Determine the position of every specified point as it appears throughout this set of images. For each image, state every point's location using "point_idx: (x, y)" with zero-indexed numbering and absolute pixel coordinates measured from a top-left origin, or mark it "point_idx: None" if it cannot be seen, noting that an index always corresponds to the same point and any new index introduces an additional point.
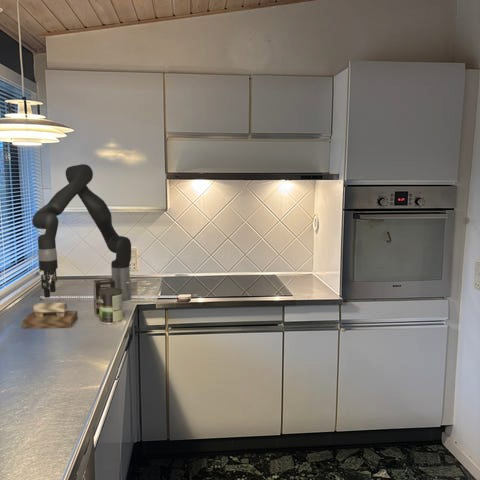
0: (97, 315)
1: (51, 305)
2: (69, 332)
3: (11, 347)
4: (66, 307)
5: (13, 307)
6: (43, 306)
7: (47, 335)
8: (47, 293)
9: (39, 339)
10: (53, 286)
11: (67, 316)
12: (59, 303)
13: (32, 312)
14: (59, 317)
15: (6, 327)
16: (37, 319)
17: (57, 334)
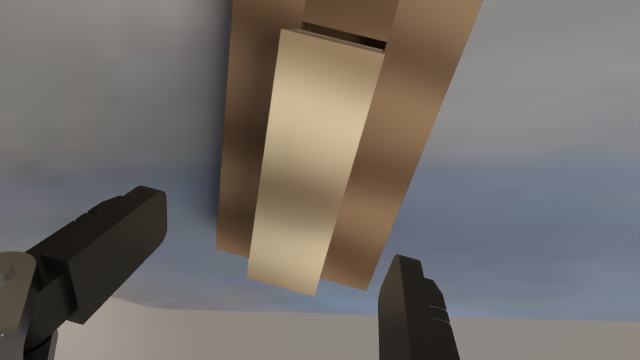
0: None
1: (347, 179)
2: (570, 4)
3: (629, 300)
4: (304, 31)
5: None
6: (332, 233)
7: (544, 150)
8: (445, 326)
9: (593, 190)
10: (107, 252)
11: (397, 21)
12: (298, 107)
13: (238, 246)
14: (401, 89)
15: (321, 307)
16: (389, 226)
17: (563, 91)
